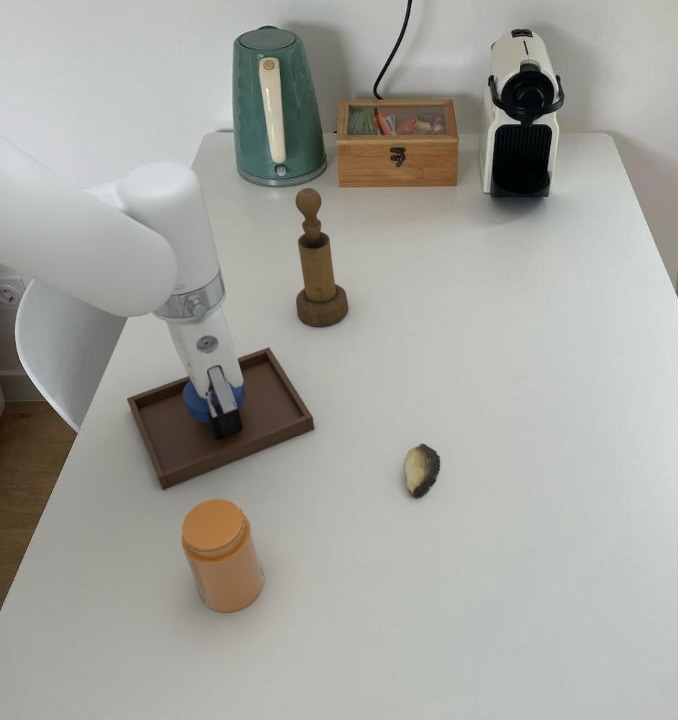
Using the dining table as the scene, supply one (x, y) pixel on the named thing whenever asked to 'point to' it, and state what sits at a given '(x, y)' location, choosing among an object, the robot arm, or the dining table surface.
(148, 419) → the tray
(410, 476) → the nut kernel
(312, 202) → the mortar and pestle
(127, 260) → the robot arm
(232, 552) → the jar
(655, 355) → the dining table surface
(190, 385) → the lid
